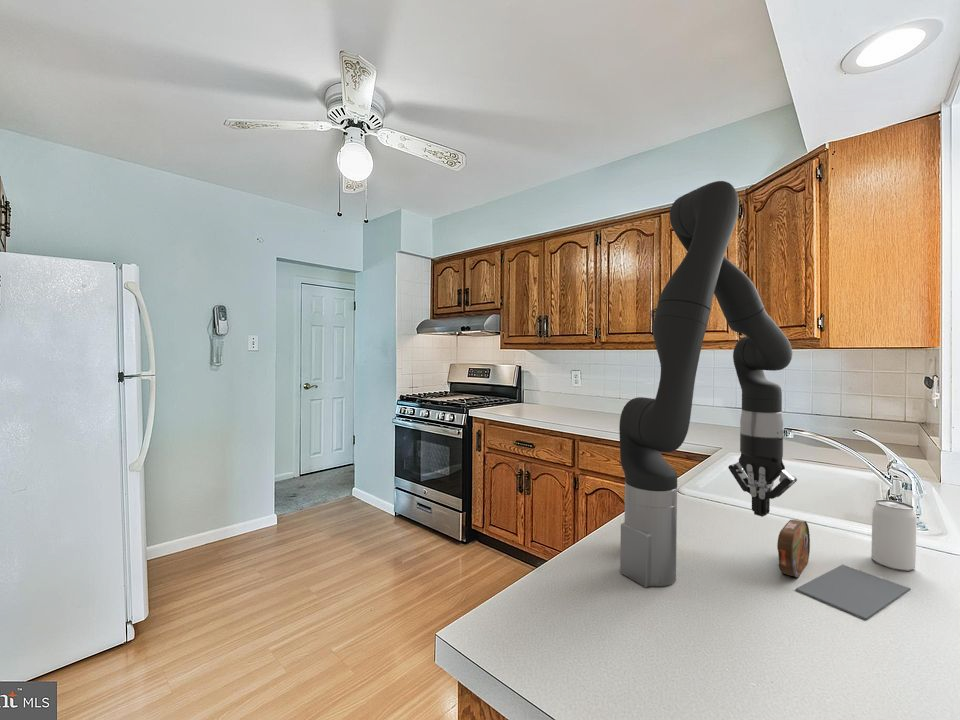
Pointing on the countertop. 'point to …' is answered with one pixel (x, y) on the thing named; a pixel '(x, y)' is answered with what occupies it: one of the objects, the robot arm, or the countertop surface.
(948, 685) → the countertop surface
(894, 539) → the can
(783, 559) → the tin
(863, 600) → the mat
